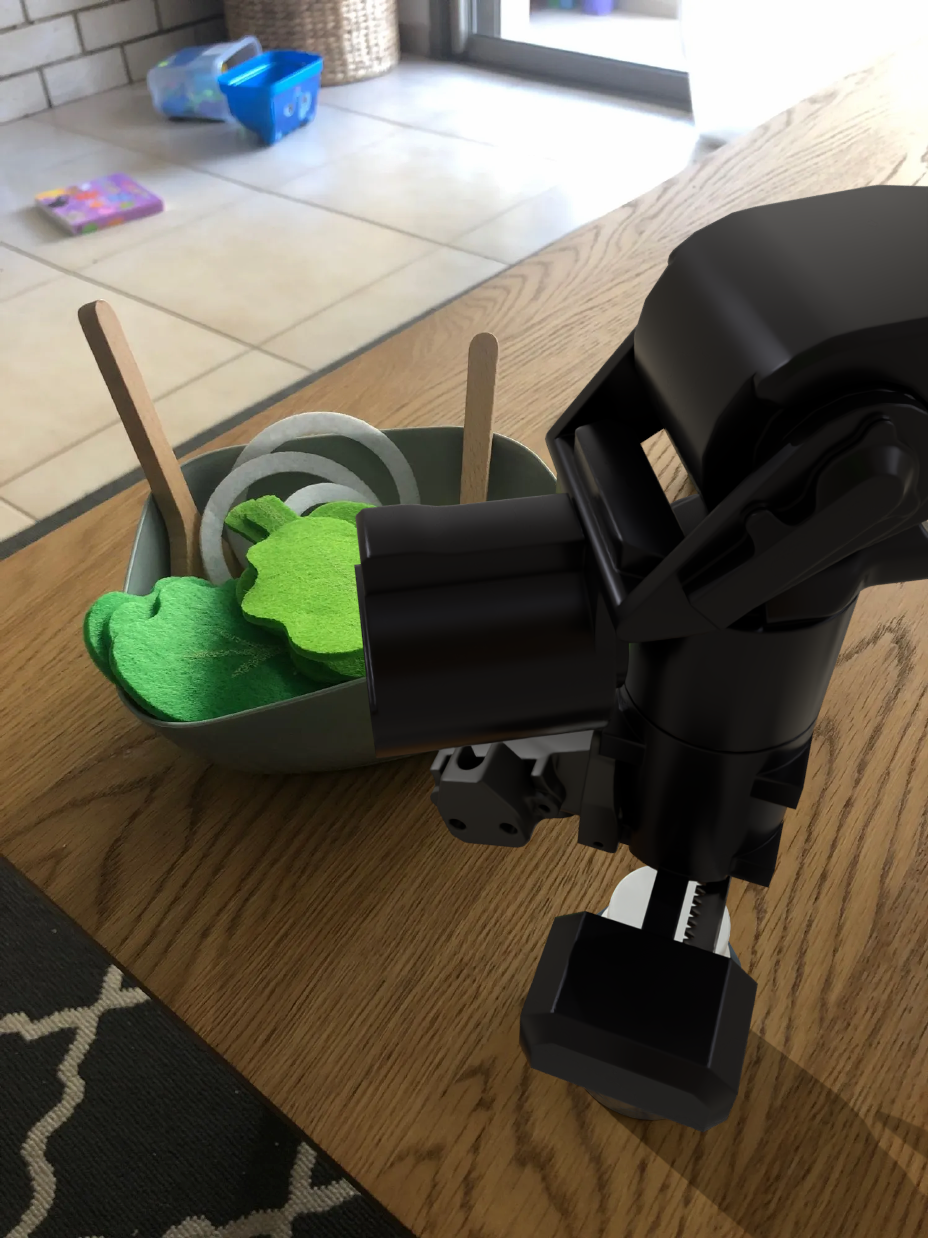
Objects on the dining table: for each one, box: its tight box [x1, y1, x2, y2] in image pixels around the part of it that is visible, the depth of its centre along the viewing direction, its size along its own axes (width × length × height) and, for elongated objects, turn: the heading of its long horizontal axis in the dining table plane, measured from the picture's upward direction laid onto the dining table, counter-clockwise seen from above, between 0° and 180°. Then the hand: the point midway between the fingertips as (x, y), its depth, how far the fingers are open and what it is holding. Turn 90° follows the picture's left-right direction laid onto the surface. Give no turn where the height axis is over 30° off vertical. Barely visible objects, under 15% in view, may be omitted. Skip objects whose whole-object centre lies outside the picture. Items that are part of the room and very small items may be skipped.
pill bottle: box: [602, 865, 732, 958], centre depth 42 cm, size 6×6×10 cm
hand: (660, 943), depth 40 cm, fingers open, 9 cm apart
